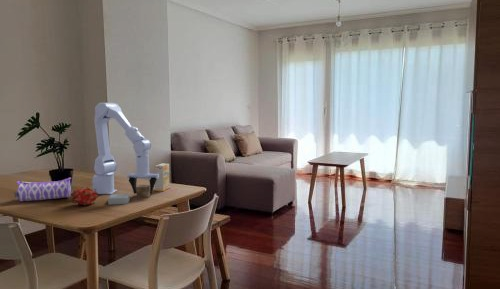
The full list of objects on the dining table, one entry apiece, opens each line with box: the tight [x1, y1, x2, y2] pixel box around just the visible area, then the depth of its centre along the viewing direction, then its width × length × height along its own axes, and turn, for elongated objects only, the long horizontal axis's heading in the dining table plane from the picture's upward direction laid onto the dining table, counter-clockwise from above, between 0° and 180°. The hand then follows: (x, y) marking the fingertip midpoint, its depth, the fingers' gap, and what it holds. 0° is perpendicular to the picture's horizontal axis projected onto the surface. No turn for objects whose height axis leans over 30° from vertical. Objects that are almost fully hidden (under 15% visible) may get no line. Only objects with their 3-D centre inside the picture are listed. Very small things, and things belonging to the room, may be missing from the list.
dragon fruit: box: [69, 186, 100, 207], centre depth 160 cm, size 8×8×12 cm
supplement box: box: [154, 163, 171, 192], centre depth 189 cm, size 8×5×13 cm, turn 169°
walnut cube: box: [136, 184, 151, 199], centre depth 175 cm, size 5×5×5 cm
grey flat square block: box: [107, 193, 131, 205], centre depth 165 cm, size 8×8×3 cm
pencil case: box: [14, 177, 72, 202], centre depth 168 cm, size 22×9×10 cm, turn 112°
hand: (143, 193), depth 175 cm, fingers open, 7 cm apart
